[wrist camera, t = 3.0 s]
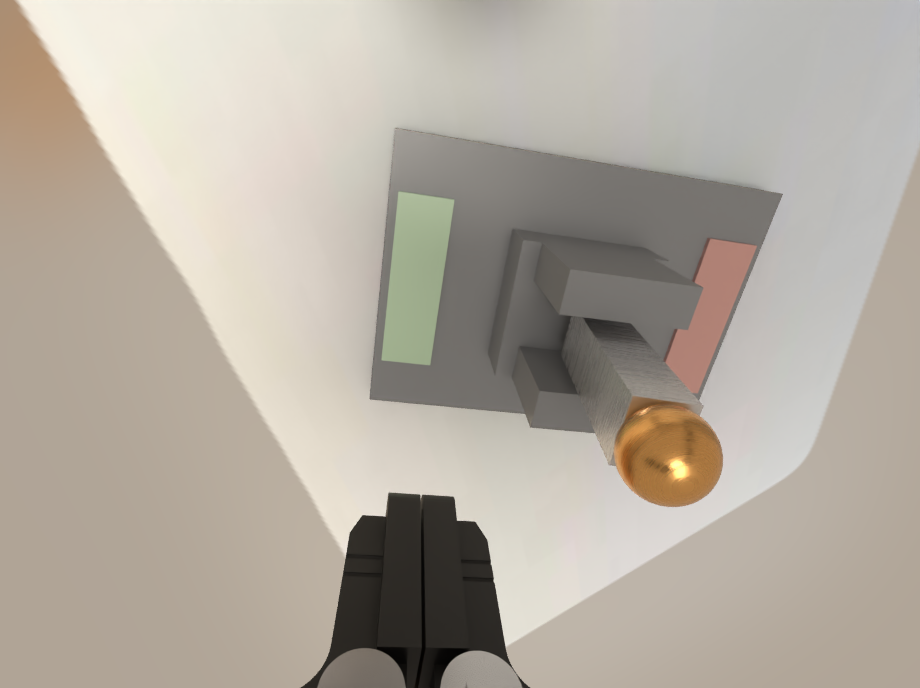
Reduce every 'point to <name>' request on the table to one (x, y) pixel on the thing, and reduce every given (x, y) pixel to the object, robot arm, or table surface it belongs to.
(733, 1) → the table surface
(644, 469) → the lever
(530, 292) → the switch box
